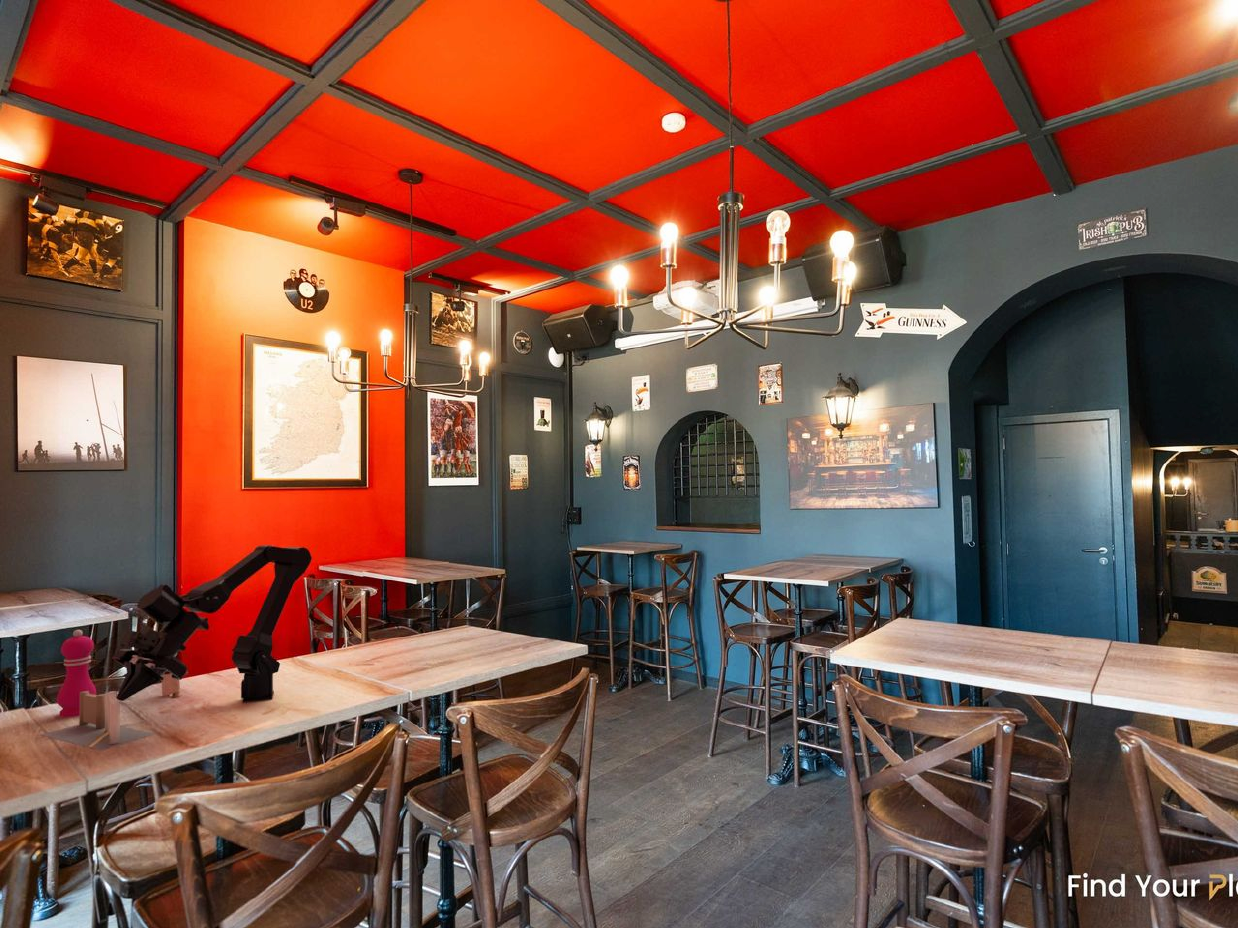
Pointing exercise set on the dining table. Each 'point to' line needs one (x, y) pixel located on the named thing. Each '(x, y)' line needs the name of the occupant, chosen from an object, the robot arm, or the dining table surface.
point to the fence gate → (112, 716)
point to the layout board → (94, 726)
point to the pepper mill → (75, 673)
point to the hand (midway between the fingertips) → (119, 699)
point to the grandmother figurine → (170, 685)
